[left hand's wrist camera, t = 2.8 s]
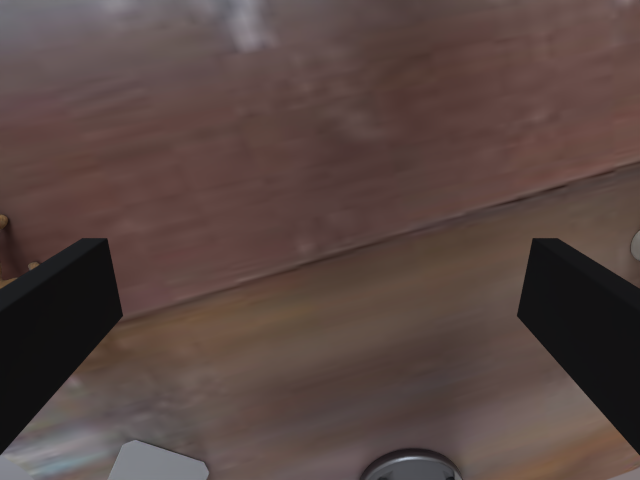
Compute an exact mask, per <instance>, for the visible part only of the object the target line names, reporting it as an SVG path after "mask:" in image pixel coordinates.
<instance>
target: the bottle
mask: <svg viewBox="0 0 640 480" xmlns="http://www.w3.org/2000/svg"><path fill="white" fill-rule="evenodd" d="M631 253H632V255H633V256H634V258H636V259H637V260H639V261H640V230H639V231H638V232H637V234H636V235H635V236H634V238H633V240H632V243H631Z"/></svg>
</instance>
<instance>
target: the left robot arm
mask: <svg viewBox="0 0 640 480" xmlns="http://www.w3.org/2000/svg"><path fill="white" fill-rule="evenodd" d="M122 316H123V313H122V308H121V304H120V299H119V294H118V289H117V284H116V279H115V274H114V269H113V264H112V259H111V254H110V250H109V245H108V240H107V238H82V239H80V240H79V241H77V242H76V243H74V244H72V245H71V246H69V247H67V248H66V249H64V250H63V251H61V252H59V253H58V254H56V255H54V256H53V257H51V258H50V259H48V260H46V261H45V262H43V263H41V264H40V265H38V266H37V267H35V268H33V269H32V270H30V271H28V272H27V273H25V274H24V275H22V276H20V277H19V278H17V279H15V280H14V281H12V282H11V283H9V284H7V285H6V286H4V287H2V288H1V289H0V455H1V454H2V453H3V452H4V450H5V449H6V448H7V447H8V446H9V445H10V444H11V443H12V441H13V440H14V439H15V438H16V437H17V436H18V435H19V433H20V432H21V431H22V430H23V429H24V428H25V427H26V425H27V424H28V423H29V422H30V421H31V420H32V419H33V418H34V416H35V415H36V414H37V413H38V412H39V411H40V410H41V408H42V407H43V406H44V405H45V404H46V403H47V402H48V401H49V399H50V398H51V397H52V396H53V395H54V394H55V393H56V391H57V390H58V389H59V388H60V387H61V386H62V385H63V383H64V382H65V381H66V380H67V379H68V378H69V377H70V376H71V374H72V373H73V372H74V371H75V370H76V369H77V368H78V366H79V365H80V364H81V363H82V362H83V361H84V360H85V359H86V357H87V356H88V355H89V354H90V353H91V352H92V351H93V349H94V348H95V347H96V346H97V345H98V344H99V343H100V341H101V340H102V339H103V338H104V337H105V336H106V335H107V334H108V332H109V331H110V330H111V329H112V328H113V327H114V326H115V324H116V323H117V322H118V321H119V320H120V319H121V318H122ZM517 316H518V318H519V319H520V320H521V321H522V322H523V323H524V324H525V326H526V327H527V328H528V329H529V330H530V331H531V332H532V334H533V335H534V336H535V337H536V338H537V339H538V340H539V341H540V343H541V344H542V345H543V346H544V347H545V348H546V349H547V351H548V352H549V353H550V354H551V355H552V356H553V357H554V359H555V360H556V361H557V362H558V363H559V364H560V365H561V366H562V368H563V369H564V370H565V371H566V372H567V373H568V374H569V376H570V377H571V378H572V379H573V380H574V381H575V382H576V383H577V385H578V386H579V387H580V388H581V389H582V390H583V391H584V393H585V394H586V395H587V396H588V397H589V398H590V399H591V401H592V402H593V403H594V404H595V405H596V406H597V407H598V408H599V410H600V411H601V412H602V413H603V414H604V415H605V416H606V418H607V419H608V420H609V421H610V422H611V423H612V424H613V426H614V427H615V428H616V429H617V430H618V431H619V432H620V433H621V435H622V436H623V437H624V438H625V439H626V440H627V441H628V443H629V444H630V445H631V446H632V447H633V448H634V449H635V450H636V452H637V453H638V454H639V455H640V289H639V288H638V287H636V286H634V285H633V284H631V283H629V282H628V281H626V280H625V279H623V278H621V277H620V276H618V275H616V274H615V273H613V272H612V271H610V270H608V269H607V268H605V267H603V266H602V265H600V264H599V263H597V262H595V261H594V260H592V259H590V258H589V257H587V256H586V255H584V254H582V253H581V252H579V251H577V250H576V249H574V248H573V247H571V246H569V245H568V244H566V243H564V242H563V241H561V240H560V239H558V238H533V240H532V245H531V250H530V254H529V259H528V264H527V269H526V274H525V279H524V284H523V289H522V294H521V299H520V304H519V308H518V313H517ZM360 480H462V477H461V474H460V472H459V470H458V468H457V467H456V466H455V464H454V463H453V462H452V461H451V460H449V459H448V458H446V457H445V456H443V455H441V454H439V453H436V452H433V451H429V450H423V449H406V450H400V451H395V452H392V453H389V454H387V455H384V456H382V457H380V458H379V459H377V460H376V461H374V462H373V463H372V464H371V465H370V466H368V468H367V469H366V470H365V471H364V473H363V474H362V476H361V478H360Z"/></svg>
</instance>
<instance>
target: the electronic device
mask: <svg viewBox="0 0 640 480" xmlns="http://www.w3.org/2000/svg"><path fill="white" fill-rule="evenodd" d="M208 475H209V471H208V469H207V467H206V465H205V463H204V462H202V461H199V460H195V459H192V458H189V457H186V456H183V455H180V454H177V453H174V452H171V451H168V450H165V449H162V448H159V447H156V446H153V445H150V444H146V443H143V442H140V441H137V440H133V441H131V442H128V443H126V444H123V445H122V447H121V450H120V452H119V454H118V457H117V459H116V461H115V464H114V466H113V468H112V471H111V473H110V475H109V478H108V480H206V479H207V477H208Z"/></svg>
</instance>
